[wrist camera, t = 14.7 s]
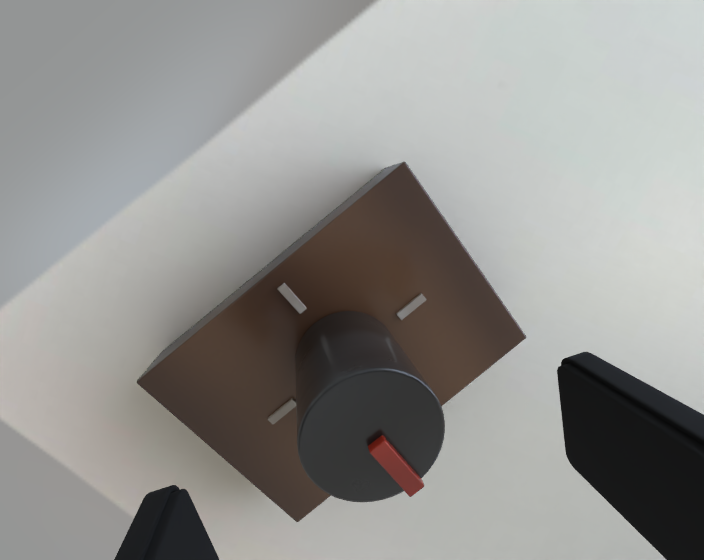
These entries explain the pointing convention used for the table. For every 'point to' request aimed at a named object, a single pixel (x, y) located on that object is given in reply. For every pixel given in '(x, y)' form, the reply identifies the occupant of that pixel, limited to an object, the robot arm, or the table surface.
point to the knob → (363, 411)
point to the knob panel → (318, 302)
